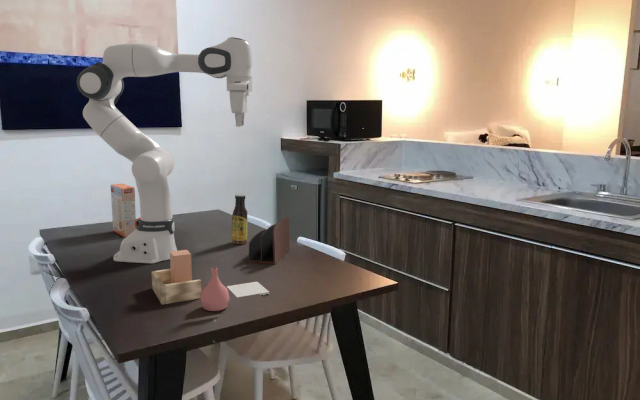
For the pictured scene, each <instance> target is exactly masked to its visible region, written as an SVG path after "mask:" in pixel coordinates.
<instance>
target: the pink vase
mask: <svg viewBox="0 0 640 400" xmlns="http://www.w3.org/2000/svg"><path fill="white" fill-rule="evenodd" d="M200 302H201V305H202V308H203V309H204V310H205V311H210V312H220V311H222V310H225V309H227V308H228V305H229V302H230V293H229V289H228V288H227V287H226V286H225V285H224V284H223V283H222V282H221V280H220V278H219V276H218V268H217V267H212V268H211V278H210V279H209V282H208V284H207V285H206V286H205V287H204V288H203V290H202V294H201V298H200Z"/></svg>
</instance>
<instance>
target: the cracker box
mask: <svg viewBox="0 0 640 400" xmlns="http://www.w3.org/2000/svg"><path fill="white" fill-rule="evenodd" d="M135 190H136V189H135V186H134V187H133V186H130V185H128V184H126V183H116V184H115V183H114V184H110V197H111V198H110V201H111V215H112V216H111V217H112V231H113V232H114V233H117V234H118V235H120V236H122V237H123V238H126V237H127V236H128V235H129V234H131V233H132V232H133V231H134V230H136V226H135V224H134V223H135V222H136V221H137V213H136V212H137V210H136V191H135Z"/></svg>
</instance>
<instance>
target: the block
mask: <svg viewBox="0 0 640 400" xmlns="http://www.w3.org/2000/svg"><path fill="white" fill-rule="evenodd" d="M169 265H170V268H169V269H171V284H172V283H178V282H185V281H192V280H193V272H192V268H193V267H192V253H190V251H189V250H188V249H181V250H179V249H178V250H177V251H171V252H170V259H169Z"/></svg>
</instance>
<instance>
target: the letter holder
mask: <svg viewBox="0 0 640 400" xmlns="http://www.w3.org/2000/svg"><path fill="white" fill-rule="evenodd" d="M290 236H291V235H290V218H289V217H284V218H282V219H280V220H278V222H276V223H274V224H272V225H270V226H269V227H268V228H267V229H262V230H260V231H259V232H257V233H256V234H255V235H254V236H253V237H252V238H251V239H250V240H249V243H248V244H249V245H248V263H249V264H250V263H251V264H260V263H261V265H275V266H276V265H277V263H278V262H279V261H280V260H281V259H282V258H283V257H284V256H285V255H286V254H287V253H288V252H289V251H290V249H291V245H290V243H291V242H290V241H291V238H290Z"/></svg>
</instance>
